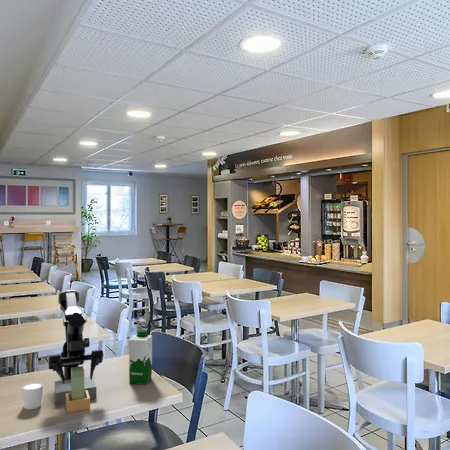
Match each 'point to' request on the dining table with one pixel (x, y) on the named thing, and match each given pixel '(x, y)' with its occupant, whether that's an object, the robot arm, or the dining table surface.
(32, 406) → the white cup
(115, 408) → the dining table surface
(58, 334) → the dining table surface
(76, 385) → the green tall box
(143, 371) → the milk carton
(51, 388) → the dining table surface
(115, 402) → the dining table surface
